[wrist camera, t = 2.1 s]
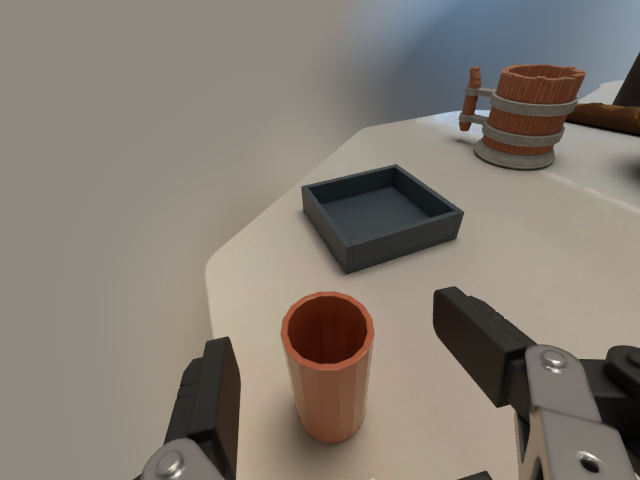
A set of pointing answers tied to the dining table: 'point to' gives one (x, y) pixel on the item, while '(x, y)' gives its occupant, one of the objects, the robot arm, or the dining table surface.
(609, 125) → the bread
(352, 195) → the tray
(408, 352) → the dining table surface
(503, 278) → the dining table surface
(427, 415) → the dining table surface
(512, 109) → the mug
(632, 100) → the vinegar
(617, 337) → the dining table surface
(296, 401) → the tumbler
